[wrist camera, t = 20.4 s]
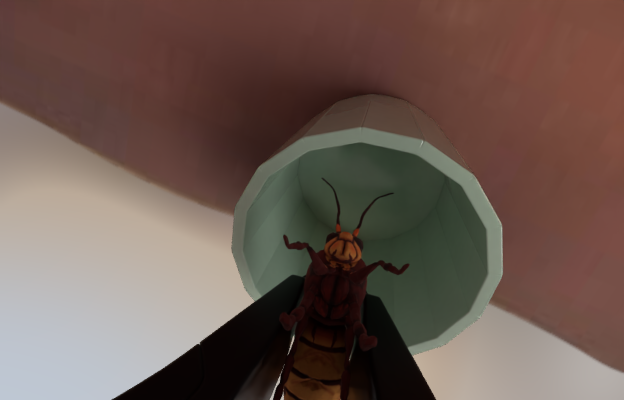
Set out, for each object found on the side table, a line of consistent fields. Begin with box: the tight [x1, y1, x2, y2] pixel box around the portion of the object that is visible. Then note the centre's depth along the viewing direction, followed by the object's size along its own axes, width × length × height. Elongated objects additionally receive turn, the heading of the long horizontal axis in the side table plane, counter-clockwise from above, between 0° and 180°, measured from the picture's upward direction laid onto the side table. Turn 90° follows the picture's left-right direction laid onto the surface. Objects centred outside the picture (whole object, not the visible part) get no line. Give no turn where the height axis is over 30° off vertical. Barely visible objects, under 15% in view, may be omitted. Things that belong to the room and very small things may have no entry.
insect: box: [273, 178, 409, 400], centre depth 8 cm, size 4×6×5 cm, turn 171°
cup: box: [232, 94, 503, 355], centre depth 15 cm, size 9×9×9 cm
